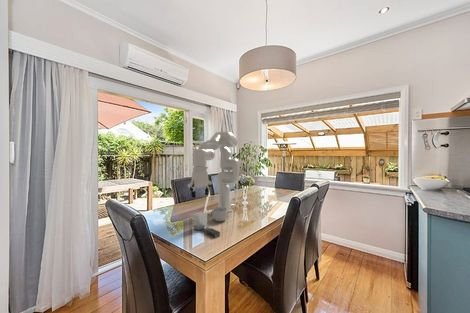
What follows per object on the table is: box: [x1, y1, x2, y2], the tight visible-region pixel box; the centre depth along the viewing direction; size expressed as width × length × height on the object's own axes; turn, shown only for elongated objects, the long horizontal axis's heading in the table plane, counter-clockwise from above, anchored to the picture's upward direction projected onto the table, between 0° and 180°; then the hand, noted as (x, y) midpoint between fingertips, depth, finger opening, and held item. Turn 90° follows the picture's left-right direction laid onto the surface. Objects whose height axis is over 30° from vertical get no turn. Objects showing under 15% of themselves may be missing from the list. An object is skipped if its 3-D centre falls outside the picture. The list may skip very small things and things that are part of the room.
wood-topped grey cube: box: [193, 211, 208, 227], centre depth 128 cm, size 6×6×7 cm
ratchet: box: [193, 224, 221, 239], centre depth 123 cm, size 21×8×6 cm, turn 42°
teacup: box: [211, 206, 228, 222], centre depth 145 cm, size 14×11×8 cm
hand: (200, 196), depth 127 cm, fingers open, 9 cm apart
